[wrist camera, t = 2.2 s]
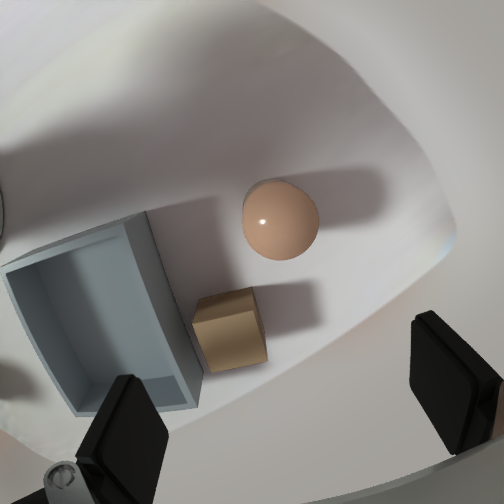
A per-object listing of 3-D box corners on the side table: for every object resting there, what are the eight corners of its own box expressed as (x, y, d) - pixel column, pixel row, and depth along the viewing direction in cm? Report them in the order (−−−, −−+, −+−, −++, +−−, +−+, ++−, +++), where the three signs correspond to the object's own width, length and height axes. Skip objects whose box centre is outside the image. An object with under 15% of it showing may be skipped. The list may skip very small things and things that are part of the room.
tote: (29, 251, 28) (-2, 268, 23) (145, 211, 28) (123, 223, 22) (92, 387, 33) (75, 417, 28) (203, 372, 32) (197, 407, 27)
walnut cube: (199, 298, 30) (191, 324, 25) (251, 286, 30) (253, 310, 25) (215, 342, 31) (211, 372, 27) (264, 331, 31) (267, 361, 26)
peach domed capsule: (236, 187, 27) (233, 195, 21) (293, 172, 27) (309, 176, 20) (251, 242, 29) (253, 268, 22) (306, 228, 28) (325, 249, 22)
